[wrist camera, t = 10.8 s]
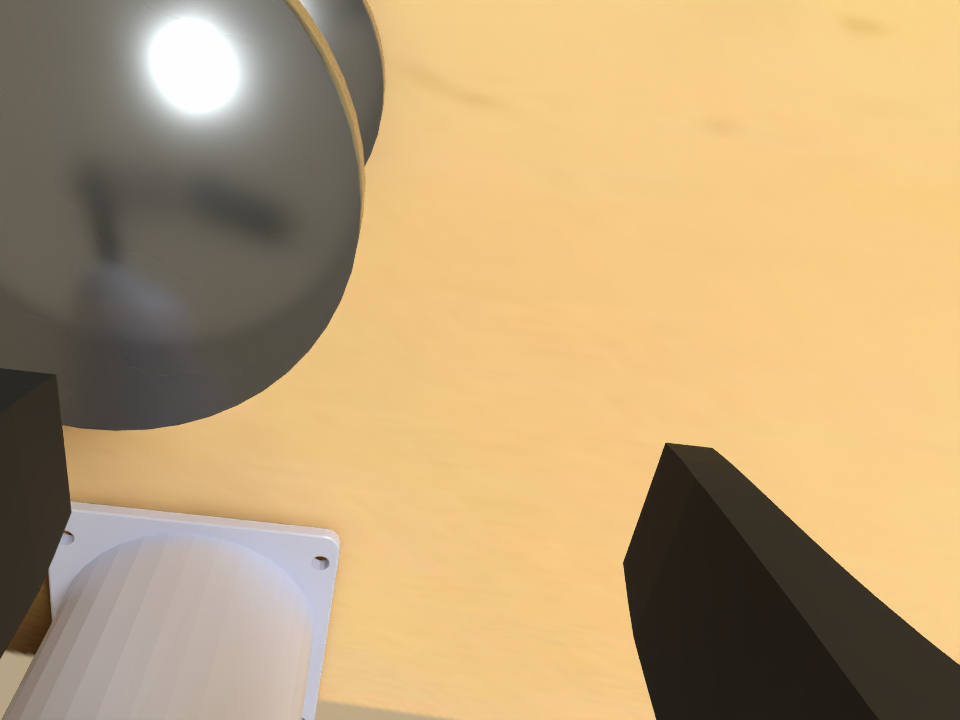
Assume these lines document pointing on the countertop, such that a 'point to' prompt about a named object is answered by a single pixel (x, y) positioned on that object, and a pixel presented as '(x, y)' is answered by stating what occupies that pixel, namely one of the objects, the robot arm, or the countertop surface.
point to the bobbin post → (178, 195)
